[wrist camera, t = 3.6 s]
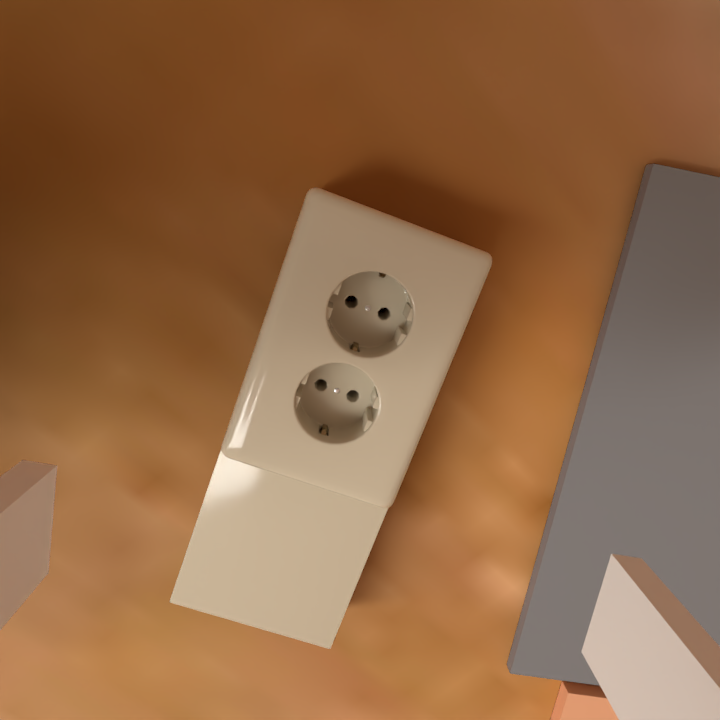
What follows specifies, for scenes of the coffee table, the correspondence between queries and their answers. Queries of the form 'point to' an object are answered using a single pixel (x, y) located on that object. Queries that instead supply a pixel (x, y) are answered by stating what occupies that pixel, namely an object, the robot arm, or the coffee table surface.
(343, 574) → the electrical outlet
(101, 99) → the coffee table surface
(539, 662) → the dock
